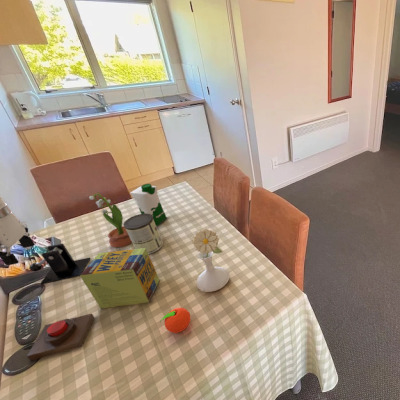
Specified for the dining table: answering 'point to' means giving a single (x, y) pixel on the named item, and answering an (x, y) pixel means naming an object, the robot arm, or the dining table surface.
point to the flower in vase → (209, 262)
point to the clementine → (177, 320)
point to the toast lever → (41, 262)
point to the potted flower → (114, 223)
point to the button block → (62, 338)
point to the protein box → (121, 278)
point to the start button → (57, 328)
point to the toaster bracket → (62, 264)
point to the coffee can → (143, 232)
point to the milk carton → (149, 202)
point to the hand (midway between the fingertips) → (21, 254)
